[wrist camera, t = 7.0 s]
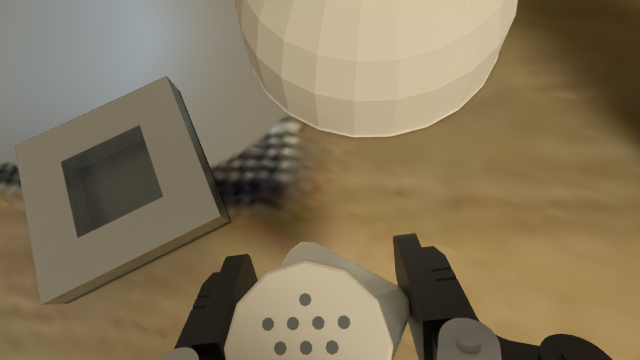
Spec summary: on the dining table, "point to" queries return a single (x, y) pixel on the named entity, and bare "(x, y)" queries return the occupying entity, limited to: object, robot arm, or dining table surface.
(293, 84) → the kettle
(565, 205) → the dining table surface
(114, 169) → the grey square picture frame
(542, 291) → the dining table surface
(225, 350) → the salt shaker
